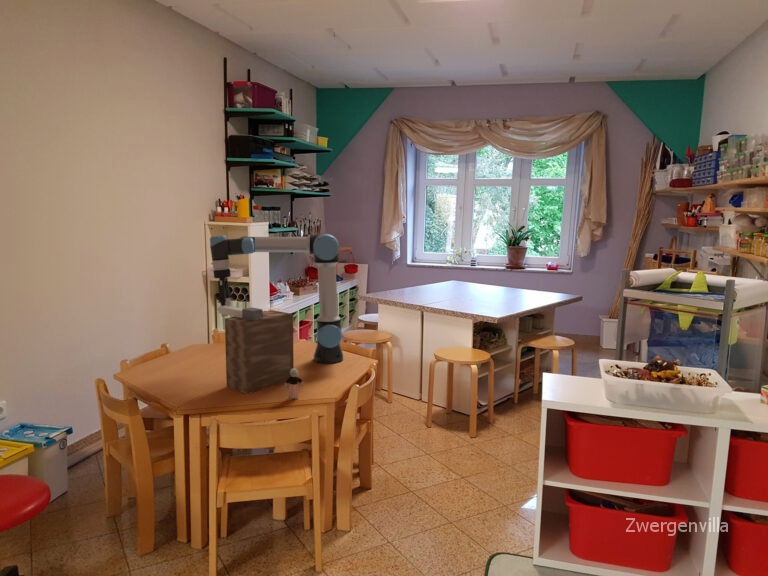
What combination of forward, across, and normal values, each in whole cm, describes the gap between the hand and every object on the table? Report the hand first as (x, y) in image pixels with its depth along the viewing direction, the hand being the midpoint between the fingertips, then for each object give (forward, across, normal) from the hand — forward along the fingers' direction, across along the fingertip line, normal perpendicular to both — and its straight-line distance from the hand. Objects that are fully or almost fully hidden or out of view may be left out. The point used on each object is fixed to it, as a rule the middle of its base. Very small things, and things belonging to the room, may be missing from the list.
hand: (226, 314), depth 261 cm
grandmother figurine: (+31, +44, +29) cm, 61 cm away
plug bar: (-2, +22, +8) cm, 24 cm away
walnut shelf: (+29, +21, +14) cm, 39 cm away
